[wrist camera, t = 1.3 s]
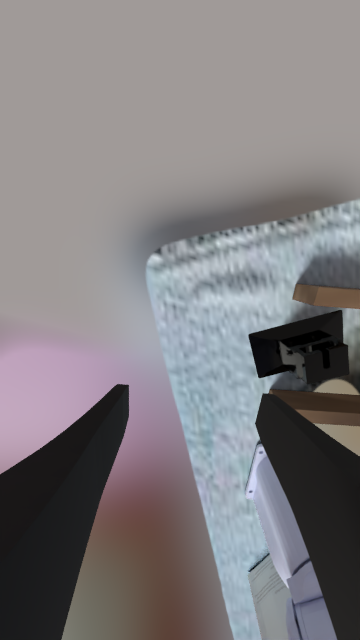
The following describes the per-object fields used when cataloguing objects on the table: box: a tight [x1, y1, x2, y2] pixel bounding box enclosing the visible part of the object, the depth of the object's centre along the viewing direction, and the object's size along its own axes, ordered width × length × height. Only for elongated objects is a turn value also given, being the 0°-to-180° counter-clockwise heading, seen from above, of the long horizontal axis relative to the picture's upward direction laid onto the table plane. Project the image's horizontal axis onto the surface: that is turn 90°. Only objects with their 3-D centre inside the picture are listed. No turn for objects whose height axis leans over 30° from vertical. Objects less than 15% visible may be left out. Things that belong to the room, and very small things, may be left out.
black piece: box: [249, 310, 349, 384], centre depth 18 cm, size 12×7×5 cm, turn 107°
